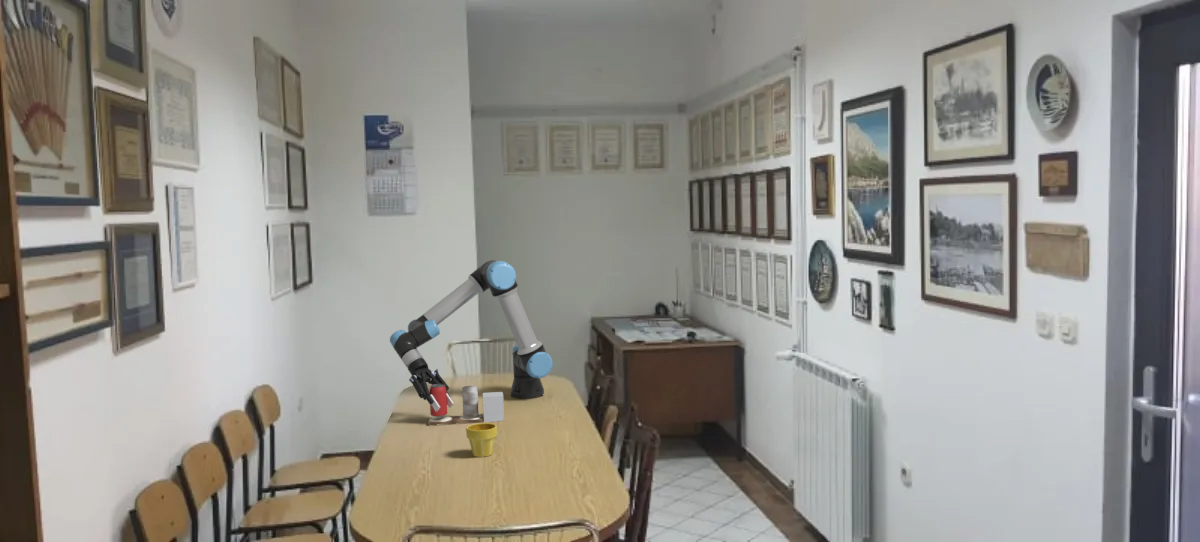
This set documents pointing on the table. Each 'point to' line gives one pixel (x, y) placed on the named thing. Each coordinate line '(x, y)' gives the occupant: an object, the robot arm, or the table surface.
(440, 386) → the beer can
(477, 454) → the plant pot
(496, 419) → the white upright block
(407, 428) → the table surface
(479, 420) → the board
